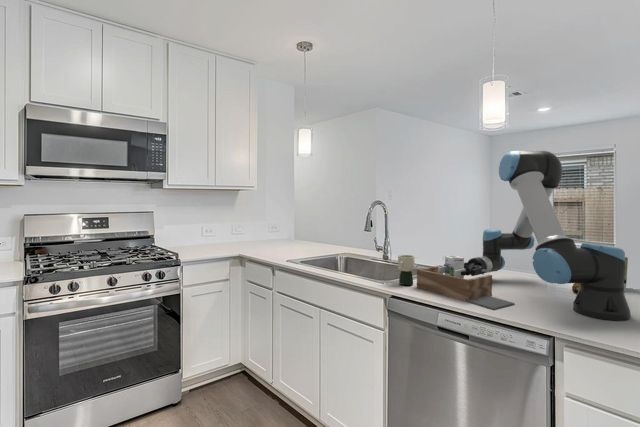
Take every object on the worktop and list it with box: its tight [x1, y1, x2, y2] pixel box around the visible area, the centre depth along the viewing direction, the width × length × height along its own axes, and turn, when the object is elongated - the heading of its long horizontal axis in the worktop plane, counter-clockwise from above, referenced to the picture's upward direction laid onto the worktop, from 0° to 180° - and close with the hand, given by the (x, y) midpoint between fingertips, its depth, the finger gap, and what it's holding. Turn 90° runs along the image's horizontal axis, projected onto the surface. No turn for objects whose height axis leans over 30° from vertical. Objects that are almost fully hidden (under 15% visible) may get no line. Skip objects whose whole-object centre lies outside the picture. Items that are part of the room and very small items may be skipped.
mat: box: [465, 295, 515, 311], centre depth 132 cm, size 12×12×1 cm
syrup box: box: [444, 255, 465, 279], centre depth 149 cm, size 6×6×14 cm
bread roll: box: [571, 283, 580, 295], centre depth 143 cm, size 10×10×8 cm
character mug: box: [397, 254, 415, 286], centre depth 160 cm, size 11×7×13 cm, turn 140°
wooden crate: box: [416, 265, 493, 302], centre depth 148 cm, size 16×25×8 cm, turn 34°
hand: (446, 272), depth 146 cm, fingers closed on syrup box, 7 cm apart
